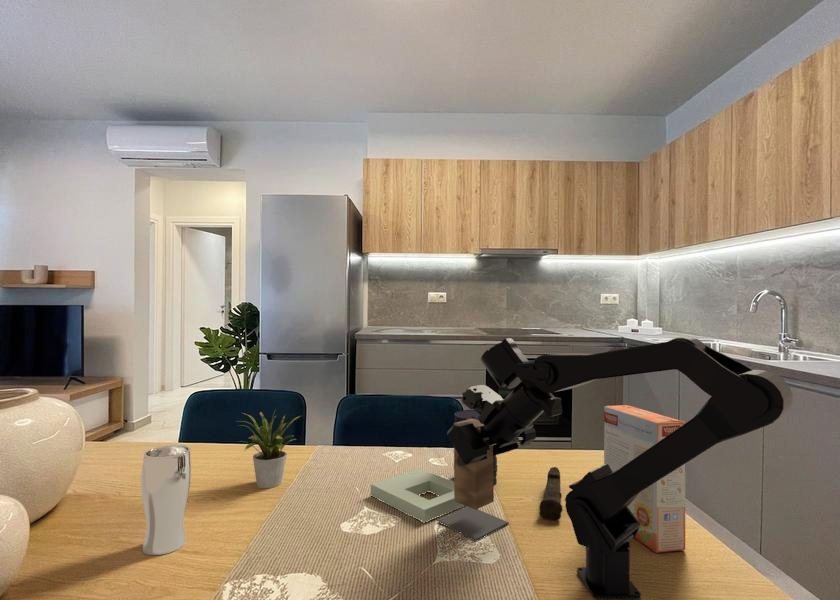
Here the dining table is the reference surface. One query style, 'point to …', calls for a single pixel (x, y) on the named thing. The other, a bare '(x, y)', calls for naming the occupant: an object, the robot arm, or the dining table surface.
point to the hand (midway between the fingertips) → (468, 460)
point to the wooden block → (474, 478)
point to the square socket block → (417, 494)
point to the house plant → (269, 452)
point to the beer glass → (165, 497)
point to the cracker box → (661, 500)
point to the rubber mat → (473, 522)
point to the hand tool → (552, 496)
